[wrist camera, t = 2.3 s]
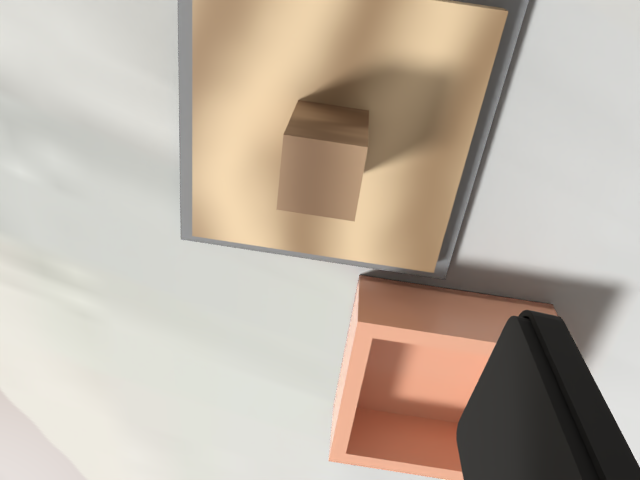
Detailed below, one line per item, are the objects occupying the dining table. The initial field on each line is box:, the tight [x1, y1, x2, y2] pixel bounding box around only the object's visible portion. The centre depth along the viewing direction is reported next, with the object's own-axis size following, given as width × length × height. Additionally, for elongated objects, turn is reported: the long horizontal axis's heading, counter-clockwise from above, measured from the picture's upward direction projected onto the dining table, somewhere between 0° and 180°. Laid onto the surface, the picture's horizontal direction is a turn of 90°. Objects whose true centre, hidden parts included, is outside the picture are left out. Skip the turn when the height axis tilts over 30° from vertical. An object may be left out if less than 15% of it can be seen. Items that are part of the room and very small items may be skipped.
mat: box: [178, 0, 529, 280], centre depth 28 cm, size 16×16×1 cm
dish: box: [329, 275, 558, 480], centre depth 34 cm, size 12×12×4 cm
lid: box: [192, 0, 508, 273], centre depth 25 cm, size 14×14×6 cm
